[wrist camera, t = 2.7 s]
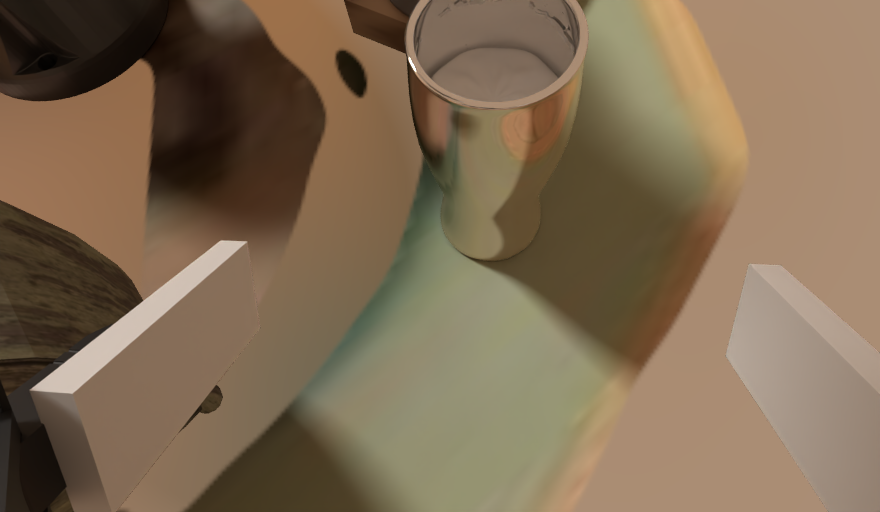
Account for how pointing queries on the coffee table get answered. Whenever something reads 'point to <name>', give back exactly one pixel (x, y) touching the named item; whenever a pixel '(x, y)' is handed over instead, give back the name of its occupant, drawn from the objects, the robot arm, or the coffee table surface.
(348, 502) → the coffee table surface
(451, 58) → the silver metal cup
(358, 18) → the walnut plinth
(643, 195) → the coffee table surface
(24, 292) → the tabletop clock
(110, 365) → the robot arm
